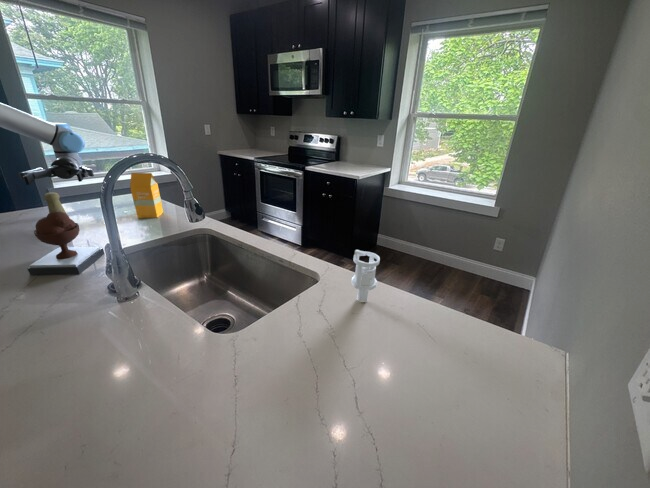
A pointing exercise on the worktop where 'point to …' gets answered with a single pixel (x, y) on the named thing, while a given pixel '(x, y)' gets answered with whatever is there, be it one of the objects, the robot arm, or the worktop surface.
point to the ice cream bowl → (58, 232)
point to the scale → (66, 262)
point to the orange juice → (146, 195)
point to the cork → (53, 202)
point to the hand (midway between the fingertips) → (53, 179)
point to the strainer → (364, 274)
